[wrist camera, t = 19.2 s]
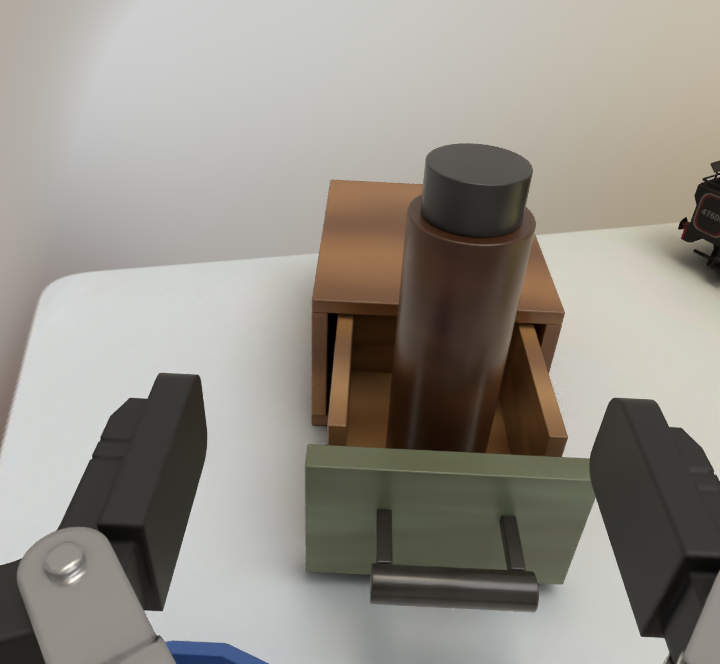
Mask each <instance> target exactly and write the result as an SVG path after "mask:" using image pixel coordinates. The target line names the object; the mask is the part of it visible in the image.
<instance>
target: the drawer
mask: <svg viewBox="0 0 720 664" xmlns="http://www.w3.org/2000/svg"><path fill="white" fill-rule="evenodd" d="M396 325H397V316H379V315H359V314H340V313H338V320H337V330H336V341H335V351H334V362H333V373H332V383H331V394H330V404H329V415H328V425H327V445H311V444H309V445H308V446H307V454H306V462H305V536H306V571H307V572H325V573H345V574H365V575H370V603H371V604H381V605H401V606H421V607H441V608H461V609H481V610H501V611H521V612H535V611H536V610H537V607H538V601H539V589H538V583H544V584H563V582H564V580H565V577H566V574H567V572H568V569H569V566H570V564H571V561H572V558H573V556H574V553H575V551H576V548H577V545H578V543H579V540H580V537H581V535H582V532H583V529H584V527H585V524H586V521H587V519H588V516H589V513H590V511H591V508H592V505H593V503H594V500H595V497H596V496H595V493H594V490H593V487H592V484H591V479H590V470H589V464H590V459H587V458H567V457H562V455H563V452H564V448H565V445H566V442H567V439H568V436H567V433H566V429H565V426H564V423H563V420H562V416H561V413H560V410H559V407H558V403H557V400H556V397H555V394H554V390H553V387H552V384H551V380H550V377H549V374H548V371H547V367H546V364H545V361H544V358H543V354H542V351H541V348H540V345H539V341H538V338H537V335H536V332H535V328H534V325H533V323H514V328H513V332H512V337H511V342H510V346H509V351H508V355H507V360H506V364H505V369H504V373H503V378H502V383H501V387H500V392H499V396H498V401H497V405H496V410H495V415H494V419H493V424H492V428H491V433H490V437H489V442H488V446H487V451H486V453H468V452H449V451H429V450H409V449H389V448H385V444H386V433H387V423H388V412H389V401H390V390H391V379H392V368H393V358H394V347H395V336H396Z"/></svg>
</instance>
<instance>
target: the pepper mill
mask: <svg viewBox="0 0 720 664" xmlns="http://www.w3.org/2000/svg"><path fill="white" fill-rule="evenodd" d="M532 173H533V169H532V165H531V164H530V163H529V161H528V160H526V159H525V158H524V157H522V156H520V155H518V154H516V153H514V152H512V151H509V150H506V149H503V148H499V147H494V146H489V145H482V144H452V145H446V146H442V147H439V148H436V149H434V150H432V151H431V152H430V153H429V154H428V155H427V157H426V162H425V171H424V181H423V190H422V194H421V195H419V196H417V197H415V198H414V199H413V200H412V201H411V202H410V204H409V205H408V208H407V217H406V227H405V238H404V249H403V260H402V271H401V282H400V293H399V303H398V314H397V325H396V336H395V347H394V358H393V368H392V379H391V390H390V401H389V412H388V423H387V433H386V444H385V448H389V449H409V450H429V451H449V452H468V453H486V451H487V446H488V442H489V437H490V433H491V428H492V424H493V419H494V415H495V410H496V405H497V401H498V396H499V392H500V387H501V383H502V378H503V373H504V369H505V364H506V360H507V355H508V351H509V346H510V342H511V337H512V332H513V328H514V323H515V319H516V314H517V310H518V305H519V300H520V296H521V291H522V287H523V282H524V278H525V273H526V269H527V264H528V259H529V255H530V250H531V246H532V241H533V237H534V232H535V227H536V222H535V218H534V216H533V214H532V213H531V211H530V210H529V209H527V207H526V202H527V197H528V193H529V188H530V183H531V178H532Z"/></svg>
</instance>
